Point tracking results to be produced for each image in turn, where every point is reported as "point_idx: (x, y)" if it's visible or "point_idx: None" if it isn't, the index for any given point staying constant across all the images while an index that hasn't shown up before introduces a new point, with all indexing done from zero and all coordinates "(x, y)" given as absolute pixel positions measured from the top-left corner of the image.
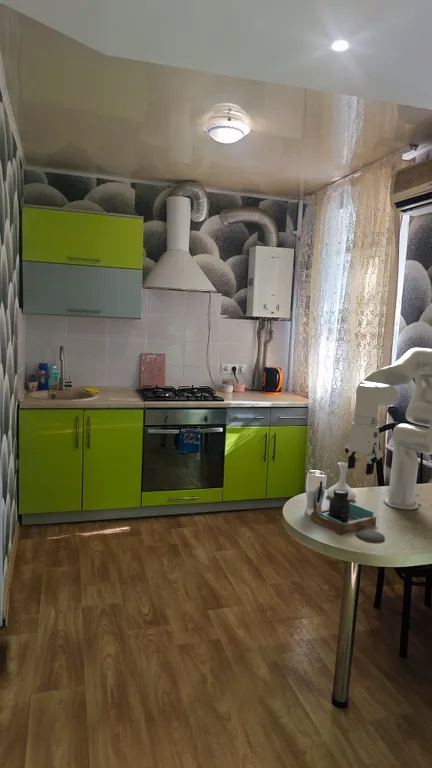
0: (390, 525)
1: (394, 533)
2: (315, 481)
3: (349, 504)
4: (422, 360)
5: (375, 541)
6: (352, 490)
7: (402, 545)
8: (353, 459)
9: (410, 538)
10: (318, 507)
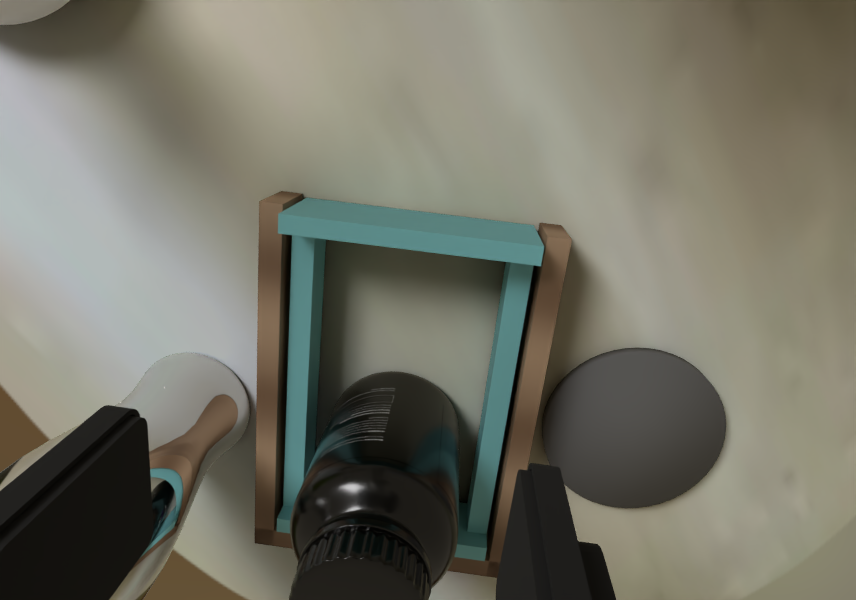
0: (636, 116)
1: (723, 241)
2: None
3: (456, 522)
4: None
5: (696, 479)
6: None
7: (838, 381)
8: (33, 592)
9: (846, 227)
10: (216, 452)
